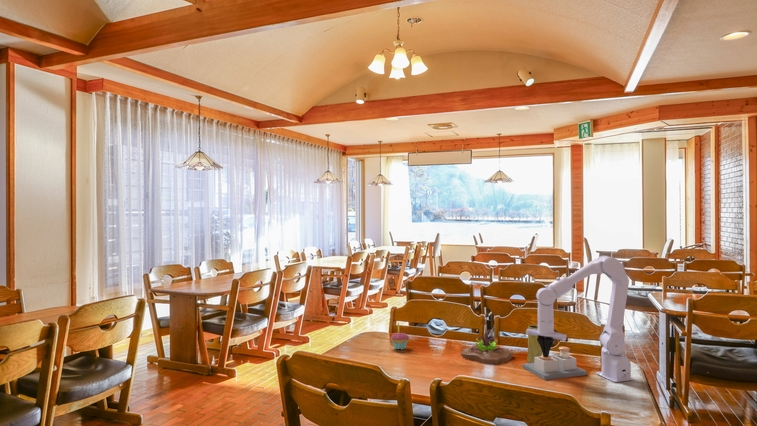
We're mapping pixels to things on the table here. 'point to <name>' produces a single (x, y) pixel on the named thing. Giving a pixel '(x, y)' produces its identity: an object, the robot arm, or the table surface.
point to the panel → (554, 368)
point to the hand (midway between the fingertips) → (545, 356)
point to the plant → (487, 351)
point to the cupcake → (399, 339)
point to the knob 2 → (564, 352)
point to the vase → (533, 346)
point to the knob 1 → (546, 358)
